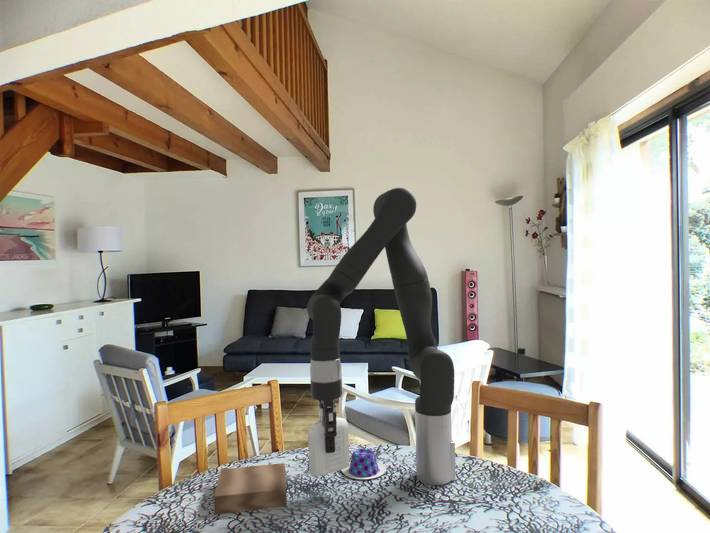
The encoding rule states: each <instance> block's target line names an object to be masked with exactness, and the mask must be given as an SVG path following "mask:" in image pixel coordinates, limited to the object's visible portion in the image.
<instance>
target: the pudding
mask: <svg viewBox="0 0 710 533" xmlns="http://www.w3.org/2000/svg"><path fill="white" fill-rule="evenodd" d="M379 469H380V472H379ZM386 470H387V468H386V465H385V464H383V463H382V462H380V461H377V458H376V454H375V451H373V450H372V449H370V448H358V449H355V450H354V451H353V452H352V454H351V458H350V460H349V467H348V468H345V469H342V470H341V472H342V474H343V475H344V476H346V477H348V478H352V479H356V480H370V479H375V478H379V477H381V476H382V475H384V474H385V473H386Z"/></svg>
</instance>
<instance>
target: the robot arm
mask: <svg viewBox="0 0 710 533" xmlns="http://www.w3.org/2000/svg"><path fill="white" fill-rule="evenodd" d="M372 210H373V212H372V213H373V216H374V220H373V221H372V222H371V224H370V225H369V227H367V229H366V230H365V231H364V233H363V234H361V236H360V238H358V239H357V241H356V242H354V243H353V244H352V245H351V247H350V248H349V249H348V250H347V251H346V253H345V254H344V255H343V256H342V257H341V259H340V260H339V261H338V263H337V264H336V266H335V267H334V268H333V270H332V271H331V273H330V275H329V276H328V277H327V279H326V280H324V282H323V283H321V284H320V286H319V287H318V288H317V290H315V292H314V293H313V294H312V295H311V297H310V298H309V301H308V303H307V305H306V312H307V315H308V317H309V318H310V319H311V320H312V336H311V338H310V343H309V344H310V346H309V347H310V369H309V372H310V373H309V374H310V396H311V398H312V399H313V400H315V401H318V402H319V403H318V404H317V405H318V412H319V414H318V416H319V421H320V420H321V422H322V427H324V436H325V450H326V453H334V452H335V436H336V435H337V432H336V424H337V422H336V417H337V415H338V414H337V410H338V409H337V405H336V404H335V403H336V402H334V401H335V400H337V399H340V398H342V395H343V382H342V381H343V377H342V376H343V374H342V364H341V352H340V350H341V349H340V336H341V335H340V333H341V325H342V309H341V303H342V302H343V301H344V299H345V298H346V297H347V296H349V295H350V294H351V293H353V292H354V290H355V289H357V286H359V284H360V283H361V281H362V280H363V278H364V277H365V275H366V274H367V272H368V271H369V270H370V268H371V267H372V265H373V264H374V262H375V261H376V260H377V258H378V257H379V255H380V254H381V252H383V250H385V254H386V258H387V263H388V268H389V272H390V273H389V274H390V275H391V281H392V286H393V290H394V295H395V300H396V302H397V306H398V309H399V314H400V317H401V321H402V325H403V328H404V331H405V332H404V333H405V336H406V343H407V350H408V359H409V365H410V370H411V371H412V374H413V375H414V376H415V378H417V379H418V380H420V382H419V396H417V397H416V398H415V400H414V401H415V402H414V420H415V422H414V424H415V425H414V426H415V463H416V464H415V469H416V478H417V480H418V481H419V482H421V483H424V484H426V485H433V486H441V485H446V484H449V483H450V482H452V481H456V480H457V479H456V443H455V441H454V440H453V437H452V435H453V434H452V433H453V432H452V405H453V402H454V397H455V365H454V361H453V358H451V356H450V355H449V354H448V353H447V352H445V351H443V350H441V349H438V347H437V343H436V340H435V337H434V335H433V334H434V333H433V329H432V321H431V320H432V312H433V311H432V309H433V294H432V291H431V285H430V281H429V277H428V272H427V270H426V268H425V266H424V264H423V262H422V260H421V259H420V257H419V256H418V254H417V252H416V250H415V248H414V247H413V245H412V242H411V240H410V236H409V232H408V225H407V223H408V222H409V221H410V220H411V219H412V218H413V217H414V216H415V213H416V211H417V199H416V197H415V195H414V194H413V192H412V191H410V190H409V189H408V188H404V187H395V188H391V189H389V190H386V191H385V192H383V193H382V194H380V195H378V197H377V198H376V199H375V201H374V204H373V209H372ZM328 428H332V430H333V431H330V432H328Z"/></svg>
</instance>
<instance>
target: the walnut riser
mask: <svg viewBox="0 0 710 533" xmlns="http://www.w3.org/2000/svg"><path fill="white" fill-rule="evenodd" d="M285 465H286V463H285V462H282V463H272V464H270V463H269V464H262V465H261V464H260V465H252V466H250V465H249V466H241V467H230V468H221V469H220V471H219V476H218V480H217V484H216V488H215V491H214V496H213V507H214V508H213V511H214V514H215V515H222V514H223V513H224V514H228V513H229V514H232V513H241V512H249V511H258V510H266V509H274V508H284V507H287V506H288V505H287V504H288V503H287V501H288V500H287V498H288V496H287V477H286V475H287V474H286V466H285Z"/></svg>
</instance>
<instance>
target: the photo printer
mask: <svg viewBox="0 0 710 533" xmlns="http://www.w3.org/2000/svg"><path fill="white" fill-rule="evenodd" d="M336 422H337V424H336V432H337V435H336V436H335V452H334V453H326V450H325V436H324V427H322V422H321V420H320V419H319V420H318V421H316V422H314V423H312V424H311V425H310V426H309V427H308V428H307V429H308V430H307V440H308V441H307V443H308V444H307V445H308V466H309V467H308V470H309V475H310V476H311V477H313V478H317V477H322V476H325V475H328V474H331V473H332V474H333V473H335V472H338V471H342V469H345V468H348V467H349V462H350V442H349V441H350V440H349V424H348V421H347V420H346V419H345V418H342V417H337V416H336ZM330 431H333V430H332V428H328V432H330Z"/></svg>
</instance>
